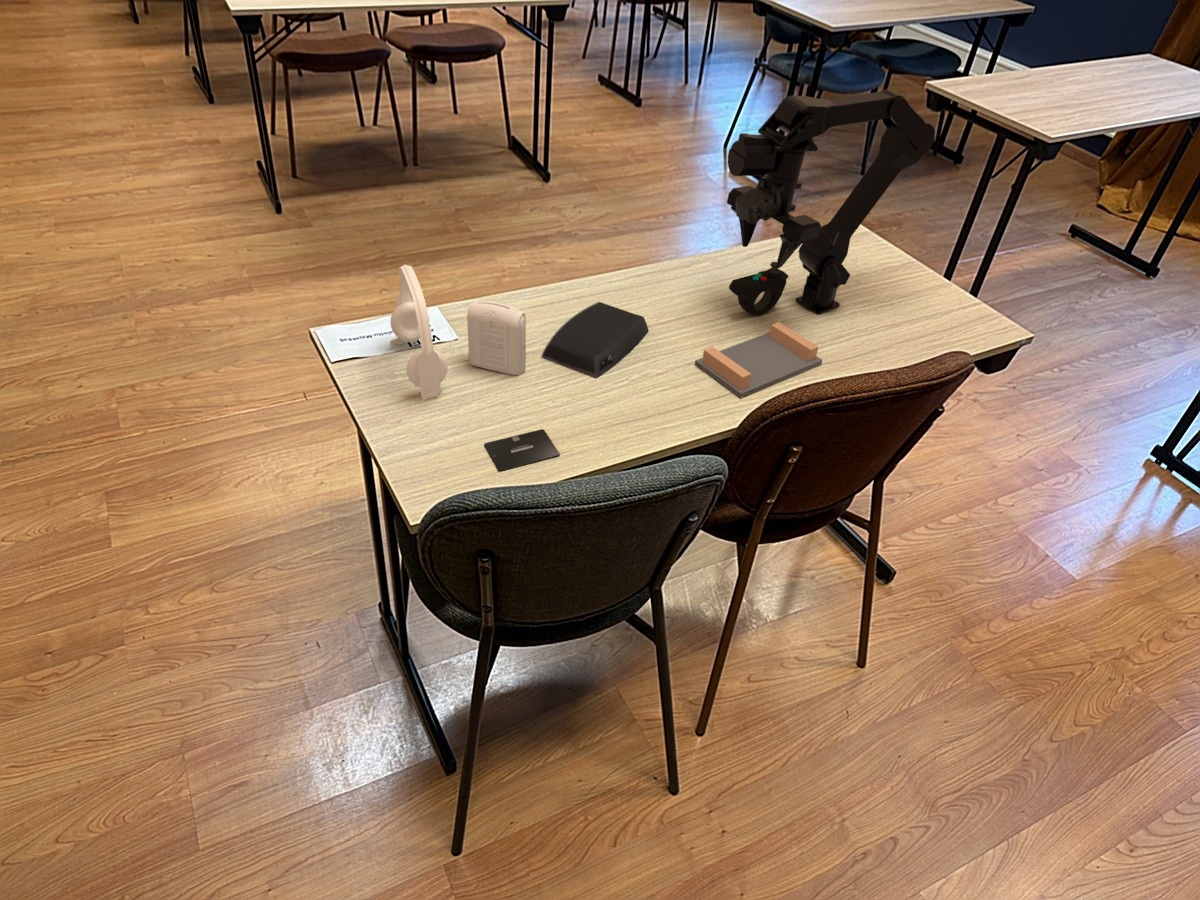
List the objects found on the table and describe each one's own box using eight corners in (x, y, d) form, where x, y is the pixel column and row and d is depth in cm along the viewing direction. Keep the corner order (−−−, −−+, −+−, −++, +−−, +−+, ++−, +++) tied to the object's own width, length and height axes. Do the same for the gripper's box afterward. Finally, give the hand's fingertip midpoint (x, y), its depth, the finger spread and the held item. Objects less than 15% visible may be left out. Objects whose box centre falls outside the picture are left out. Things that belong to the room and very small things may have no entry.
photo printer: (529, 365, 147) (529, 303, 140) (520, 378, 144) (519, 315, 136) (475, 353, 150) (472, 292, 142) (465, 366, 146) (461, 303, 138)
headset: (453, 399, 139) (445, 304, 128) (410, 406, 137) (398, 310, 125) (428, 337, 153) (419, 247, 142) (389, 343, 151) (377, 251, 140)
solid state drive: (483, 446, 130) (483, 443, 130) (543, 431, 134) (543, 428, 133) (499, 474, 125) (498, 470, 125) (560, 458, 129) (560, 454, 128)
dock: (774, 334, 159) (777, 318, 157) (821, 364, 152) (825, 348, 150) (694, 365, 150) (697, 348, 148) (740, 398, 143) (743, 381, 140)
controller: (784, 311, 166) (794, 266, 160) (734, 325, 161) (742, 278, 155) (771, 302, 169) (780, 256, 163) (721, 315, 164) (728, 268, 158)
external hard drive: (537, 358, 150) (537, 338, 148) (593, 313, 163) (594, 295, 161) (599, 382, 145) (600, 362, 143) (652, 334, 158) (654, 315, 156)
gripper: (714, 160, 149) (697, 242, 158) (789, 200, 138) (766, 285, 147) (758, 154, 155) (739, 234, 164) (834, 191, 144) (809, 274, 153)
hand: (761, 256), depth 157 cm, fingers open, 9 cm apart
